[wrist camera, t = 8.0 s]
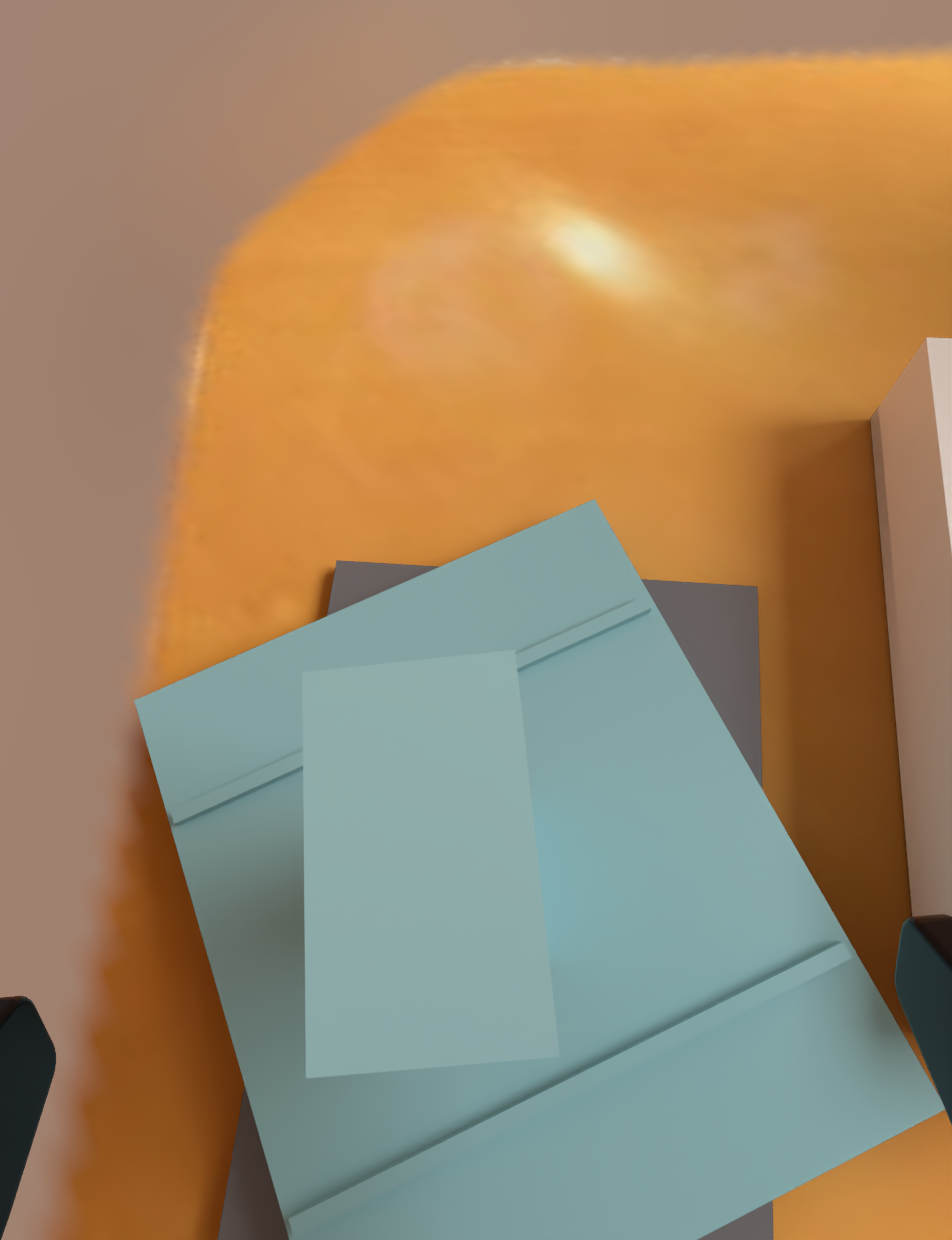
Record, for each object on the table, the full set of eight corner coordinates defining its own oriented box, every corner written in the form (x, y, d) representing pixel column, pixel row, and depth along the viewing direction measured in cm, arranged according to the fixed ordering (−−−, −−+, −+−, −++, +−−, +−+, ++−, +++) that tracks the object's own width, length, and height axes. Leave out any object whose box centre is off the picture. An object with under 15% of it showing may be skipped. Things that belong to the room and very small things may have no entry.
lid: (924, 1097, 14) (1889, 1587, 4) (354, 1396, 13) (-223, 2955, 3) (592, 514, 19) (656, 63, 9) (151, 708, 18) (-351, 458, 8)
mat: (769, 1330, 14) (775, 1343, 13) (223, 1244, 15) (214, 1254, 14) (753, 592, 18) (757, 586, 18) (340, 567, 19) (336, 560, 19)
